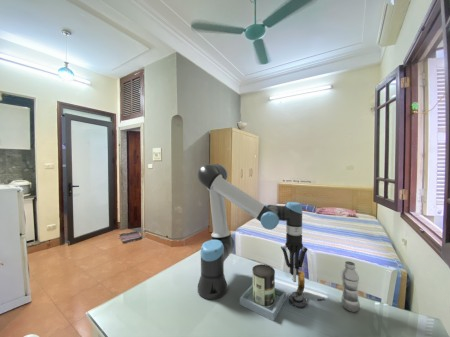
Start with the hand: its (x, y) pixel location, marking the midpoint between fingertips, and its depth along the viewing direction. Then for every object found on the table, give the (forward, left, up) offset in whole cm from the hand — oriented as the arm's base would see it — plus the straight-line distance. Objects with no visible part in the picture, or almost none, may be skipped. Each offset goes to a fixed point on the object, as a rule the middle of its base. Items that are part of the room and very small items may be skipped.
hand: (293, 280), depth 94 cm
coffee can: (-10, -15, -5) cm, 19 cm away
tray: (-10, -15, -6) cm, 19 cm away
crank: (+3, -3, -4) cm, 6 cm away
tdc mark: (+12, +1, -6) cm, 13 cm away
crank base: (+3, -6, -6) cm, 9 cm away
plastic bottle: (+23, +3, -6) cm, 24 cm away
